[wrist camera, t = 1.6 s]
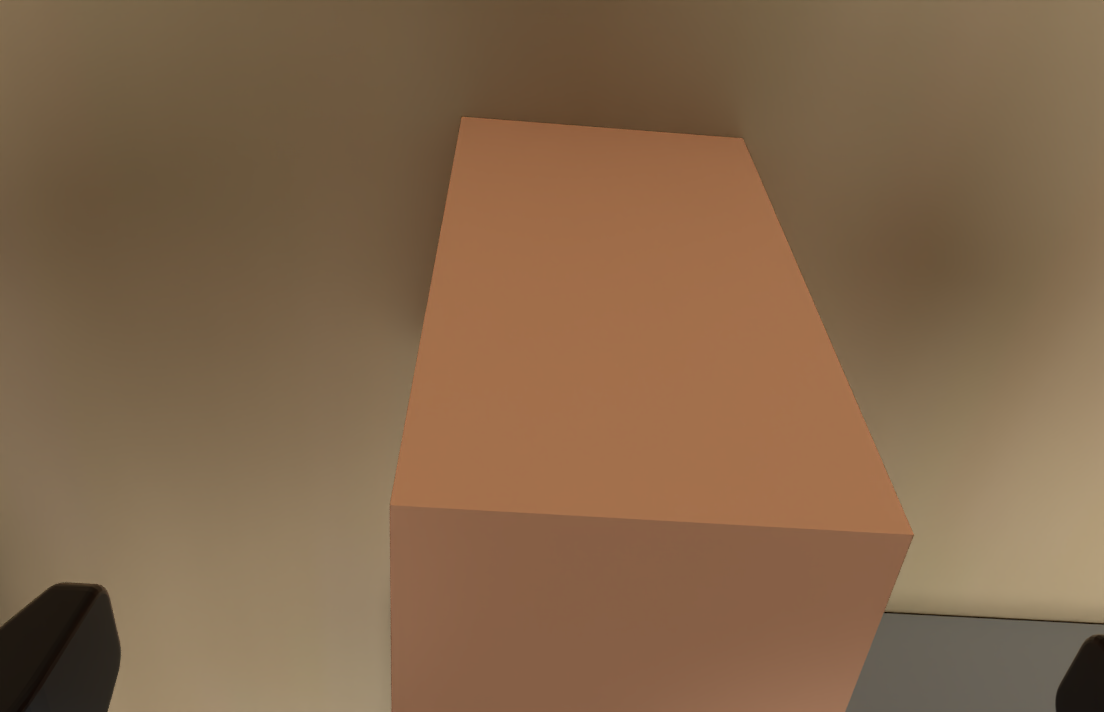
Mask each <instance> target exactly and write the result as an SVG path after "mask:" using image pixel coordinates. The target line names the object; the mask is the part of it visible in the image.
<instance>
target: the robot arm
mask: <svg viewBox="0 0 1104 712" xmlns="http://www.w3.org/2000/svg"><path fill="white" fill-rule="evenodd" d="M120 659H121V646H120V641H119V636H118V632H117V628H116V623H115V619H114V615H113V610H112V606H111V602H110V597H109V595H108V592H107V590H106V589H105V588H104V587H103V586H102V585H98V584H86V583H58V584H55V585H53V586H51V587H49V588H48V589H47V590H45V591H44V592H43V593H42V594H40V595H39V596H38V597H37V598H36V599H34V600H33V601H32V602H31V603H29V604H28V605H27V606H26V607H24V608H23V609H22V610H21V611H20V612H18V613H17V614H16V615H15V616H13V617H12V618H11V619H10V620H8V621H7V622H6V623H5V624H4V625H2V626H1V627H0V712H108V708H109V705H110V701H111V697H112V694H113V690H114V687H115V683H116V679H117V676H118V672H119V667H120ZM1055 708H1056V712H1104V634H1095V635H1092V636H1090V637H1088V638H1087V639H1086V640H1085V641H1084V642H1083V643H1082V645H1081V647H1080V649H1079V650H1078V652H1077V654H1076V656H1075V658H1074V659H1073V661H1072V663H1071V665H1070V666H1069V668H1068V670H1067V672H1066V674H1065V675H1064V677H1063V679H1062V681H1061V682H1060V684H1059V686H1058V689H1057V693H1056V698H1055Z"/></svg>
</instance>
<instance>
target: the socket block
mask: <svg viewBox="0 0 1104 712" xmlns="http://www.w3.org/2000/svg"><path fill="white" fill-rule="evenodd" d="M1095 634H1104V625H1099V624H1080V623H1061V622H1042V621H1024V620H1005V619H986V618H967V617H948V616H929V615H910V614H891V613H883V616H882V618H881V621H880V623H879V626H878V629H877V631H876V634H875V636H874V639H873V641H872V644H871V647H870V649H869V652H868V654H867V657H866V659H865V662H864V665H863V667H862V670H861V672H860V675H859V677H858V680H857V683H856V685H855V688H854V690H853V693H852V696H851V698H850V701H849V703H848V706H847V708H846V711H845V712H1056V708H1055V698H1056V693H1057V689H1058V686H1059V684H1060V682H1061V681H1062V679H1063V677H1064V675H1065V674H1066V672H1067V670H1068V668H1069V666H1070V665H1071V663H1072V661H1073V659H1074V658H1075V656H1076V654H1077V652H1078V650H1079V649H1080V647H1081V645H1082V643H1083V642H1084V641H1085V640H1086V639H1087V638H1088V637H1090V636H1092V635H1095Z"/></svg>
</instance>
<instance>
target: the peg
mask: <svg viewBox="0 0 1104 712" xmlns="http://www.w3.org/2000/svg"><path fill="white" fill-rule="evenodd" d="M913 536H914V534H913V532H912V529H911V527H910V525H909V522H908V520H907V518H906V515H905V513H904V511H903V509H902V506H901V504H900V502H899V499H898V497H897V495H896V492H895V490H894V488H893V485H892V483H891V481H890V478H889V476H888V474H887V471H886V469H885V467H884V464H883V462H882V460H881V457H880V455H879V453H878V451H877V448H876V446H875V444H874V441H873V439H872V437H871V434H870V432H869V430H868V427H867V425H866V423H865V420H864V418H863V416H862V413H861V411H860V409H859V406H858V404H857V402H856V399H855V397H854V395H853V393H852V390H851V388H850V386H849V383H848V381H847V379H846V376H845V374H844V372H843V369H842V367H841V365H840V362H839V360H838V358H837V355H836V353H835V351H834V348H833V346H832V344H831V341H830V339H829V337H828V335H827V332H826V330H825V328H824V325H823V323H822V321H821V318H820V316H819V314H818V311H817V309H816V307H815V304H814V302H813V300H812V297H811V295H810V293H809V290H808V288H807V286H806V284H805V281H804V279H803V277H802V274H801V272H800V270H799V267H798V265H797V263H796V260H795V258H794V256H793V253H792V251H791V249H790V246H789V244H788V242H787V239H786V237H785V235H784V232H783V230H782V228H781V226H780V223H779V221H778V219H777V216H776V214H775V212H774V209H773V207H772V205H771V202H770V200H769V198H768V195H767V193H766V191H765V188H764V186H763V184H762V181H761V179H760V177H759V174H758V172H757V170H756V168H755V165H754V163H753V161H752V158H751V156H750V154H749V151H748V149H747V147H746V144H745V142H744V140H743V138H733V137H720V136H707V135H694V134H681V133H668V132H655V131H642V130H629V129H616V128H603V127H590V126H577V125H564V124H552V123H539V122H526V121H513V120H500V119H487V118H474V117H462V118H461V123H460V129H459V134H458V140H457V145H456V150H455V156H454V161H453V167H452V172H451V177H450V183H449V188H448V194H447V199H446V204H445V210H444V215H443V221H442V226H441V231H440V237H439V242H438V247H437V253H436V258H435V264H434V269H433V274H432V280H431V285H430V291H429V296H428V301H427V307H426V312H425V318H424V323H423V328H422V334H421V339H420V345H419V350H418V355H417V361H416V366H415V372H414V377H413V382H412V388H411V393H410V399H409V404H408V409H407V415H406V420H405V426H404V431H403V436H402V442H401V447H400V453H399V458H398V463H397V469H396V474H395V480H394V485H393V490H392V496H391V501H390V586H391V696H392V712H845V711H846V708H847V706H848V703H849V701H850V698H851V696H852V693H853V690H854V688H855V685H856V683H857V680H858V677H859V675H860V672H861V670H862V667H863V665H864V662H865V659H866V657H867V654H868V652H869V649H870V647H871V644H872V641H873V639H874V636H875V634H876V631H877V629H878V626H879V623H880V621H881V618H882V616H883V613H884V611H885V608H886V605H887V603H888V600H889V598H890V595H891V593H892V590H893V587H894V585H895V582H896V580H897V577H898V575H899V572H900V569H901V567H902V564H903V562H904V559H905V557H906V554H907V551H908V549H909V546H910V544H911V541H912V538H913Z"/></svg>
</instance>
